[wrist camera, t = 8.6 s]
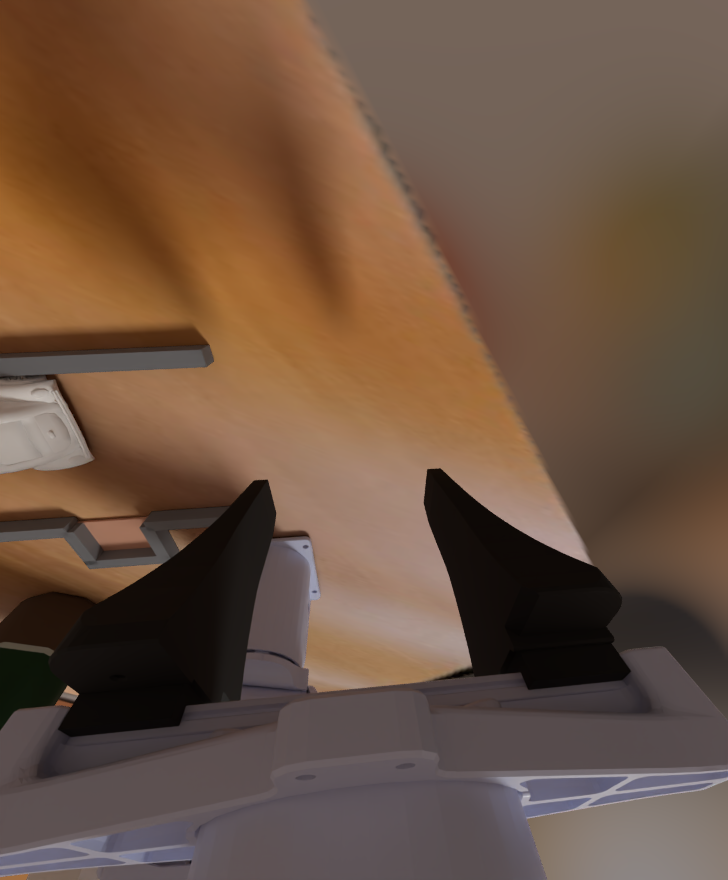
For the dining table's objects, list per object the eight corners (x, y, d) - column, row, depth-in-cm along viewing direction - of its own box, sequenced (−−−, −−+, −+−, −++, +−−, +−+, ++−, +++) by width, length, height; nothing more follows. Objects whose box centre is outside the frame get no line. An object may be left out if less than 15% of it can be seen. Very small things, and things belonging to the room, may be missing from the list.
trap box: (268, 544, 27) (260, 574, 24) (-54, 568, 25) (-99, 602, 23) (186, 267, 15) (155, 267, 13) (-403, 285, 14) (-569, 289, 11)
